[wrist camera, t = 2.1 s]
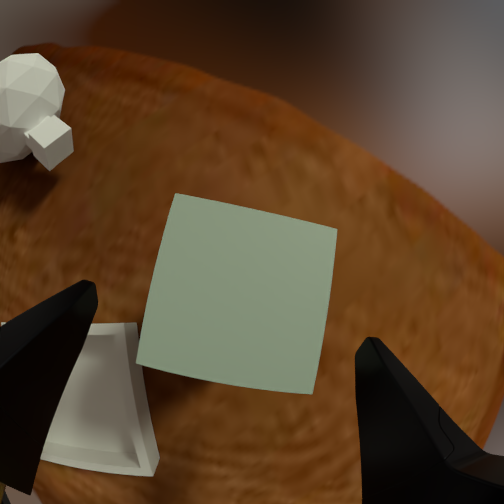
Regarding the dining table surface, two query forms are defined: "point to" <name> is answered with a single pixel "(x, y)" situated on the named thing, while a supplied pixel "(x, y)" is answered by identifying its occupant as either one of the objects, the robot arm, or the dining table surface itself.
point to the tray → (105, 408)
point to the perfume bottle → (32, 111)
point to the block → (238, 297)
